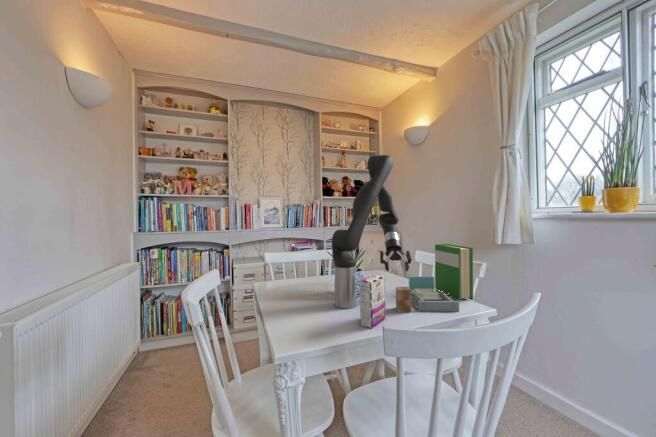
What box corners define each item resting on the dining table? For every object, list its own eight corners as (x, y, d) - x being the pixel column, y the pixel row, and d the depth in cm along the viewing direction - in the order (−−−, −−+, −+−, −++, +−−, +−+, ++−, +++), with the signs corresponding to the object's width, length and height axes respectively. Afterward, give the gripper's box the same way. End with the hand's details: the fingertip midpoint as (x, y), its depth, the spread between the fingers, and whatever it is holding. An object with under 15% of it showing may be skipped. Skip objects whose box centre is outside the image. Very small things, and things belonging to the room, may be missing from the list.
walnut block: (398, 312, 106) (398, 290, 106) (396, 307, 111) (396, 286, 111) (411, 312, 106) (410, 290, 106) (408, 307, 111) (407, 286, 111)
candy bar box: (373, 315, 103) (373, 274, 102) (385, 318, 100) (385, 275, 99) (359, 325, 94) (358, 279, 94) (371, 329, 91) (371, 281, 91)
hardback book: (473, 299, 121) (472, 247, 121) (459, 300, 120) (458, 248, 119) (447, 289, 138) (447, 243, 138) (435, 290, 137) (435, 244, 137)
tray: (417, 299, 117) (416, 284, 117) (408, 290, 132) (408, 276, 132) (444, 299, 117) (444, 284, 116) (433, 290, 131) (433, 276, 131)
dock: (418, 310, 107) (418, 301, 107) (408, 297, 124) (408, 289, 124) (459, 311, 106) (458, 301, 106) (443, 298, 123) (443, 290, 123)
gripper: (378, 238, 129) (382, 265, 118) (408, 237, 128) (414, 265, 117) (377, 247, 134) (381, 274, 123) (405, 247, 134) (411, 274, 122)
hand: (397, 270), depth 120 cm, fingers open, 8 cm apart
